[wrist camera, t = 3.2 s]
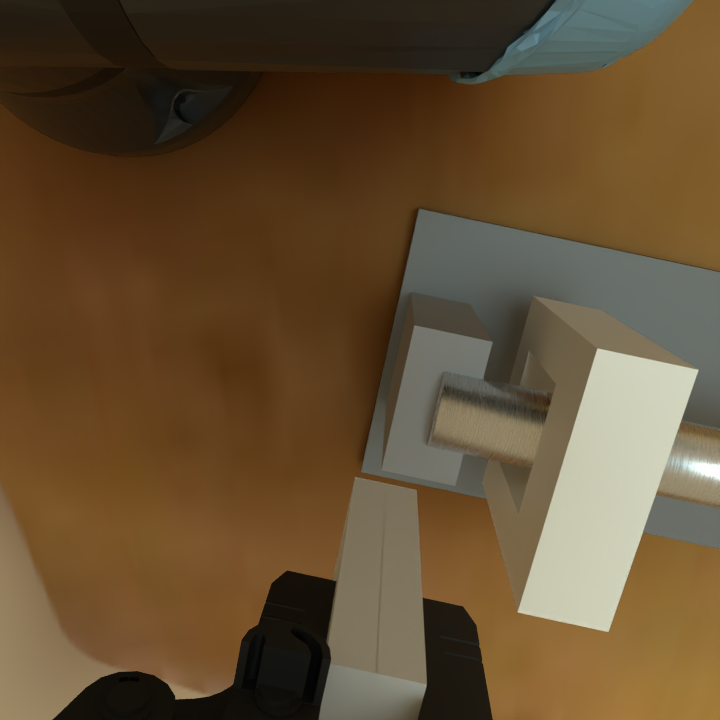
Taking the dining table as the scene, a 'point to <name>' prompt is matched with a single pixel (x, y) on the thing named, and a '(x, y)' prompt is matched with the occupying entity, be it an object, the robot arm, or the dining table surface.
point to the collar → (585, 461)
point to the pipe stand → (504, 332)
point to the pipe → (525, 425)
